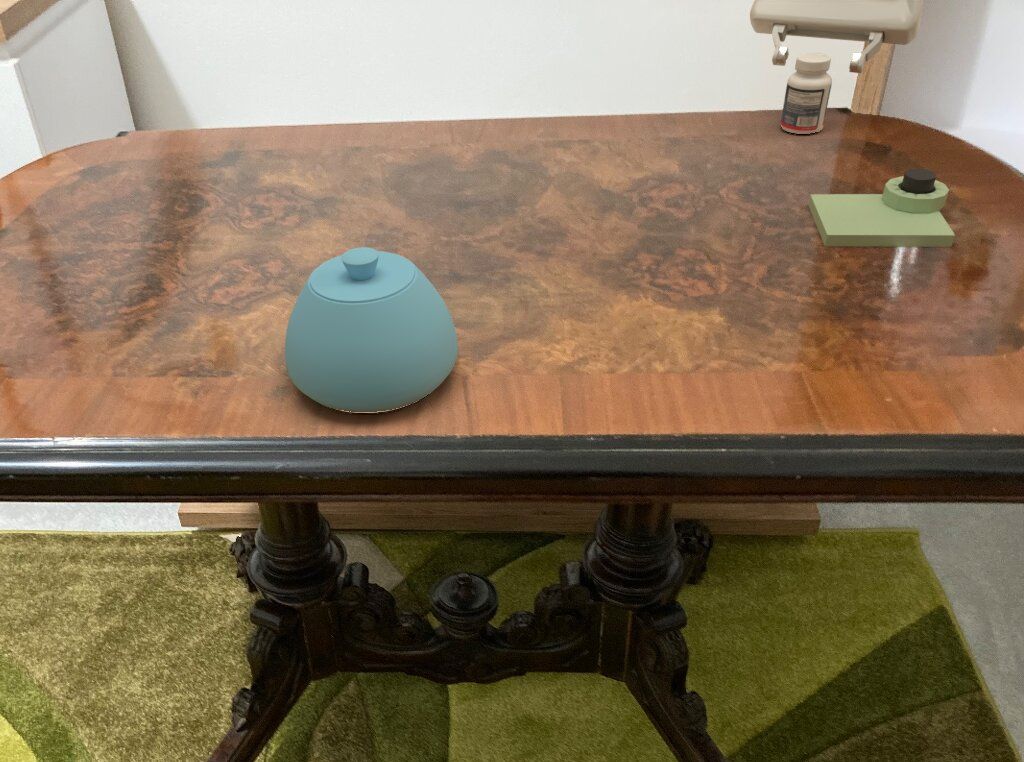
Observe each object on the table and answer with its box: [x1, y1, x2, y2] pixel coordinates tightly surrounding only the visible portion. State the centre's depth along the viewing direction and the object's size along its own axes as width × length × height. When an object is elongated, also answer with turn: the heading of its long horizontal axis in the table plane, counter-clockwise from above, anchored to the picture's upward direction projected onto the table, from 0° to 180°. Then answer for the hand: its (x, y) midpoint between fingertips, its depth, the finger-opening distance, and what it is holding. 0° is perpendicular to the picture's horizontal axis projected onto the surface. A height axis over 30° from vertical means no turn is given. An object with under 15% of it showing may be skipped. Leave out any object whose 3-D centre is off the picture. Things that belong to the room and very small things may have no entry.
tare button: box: [901, 168, 937, 194], centre depth 96 cm, size 3×3×2 cm
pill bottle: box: [779, 52, 833, 135], centre depth 116 cm, size 5×5×9 cm
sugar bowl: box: [284, 246, 459, 412], centre depth 78 cm, size 15×15×12 cm
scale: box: [807, 175, 956, 248], centre depth 96 cm, size 13×11×3 cm
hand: (816, 66), depth 116 cm, fingers open, 8 cm apart
